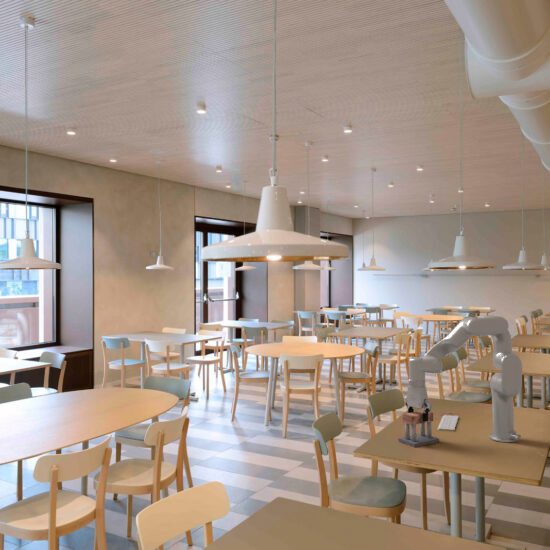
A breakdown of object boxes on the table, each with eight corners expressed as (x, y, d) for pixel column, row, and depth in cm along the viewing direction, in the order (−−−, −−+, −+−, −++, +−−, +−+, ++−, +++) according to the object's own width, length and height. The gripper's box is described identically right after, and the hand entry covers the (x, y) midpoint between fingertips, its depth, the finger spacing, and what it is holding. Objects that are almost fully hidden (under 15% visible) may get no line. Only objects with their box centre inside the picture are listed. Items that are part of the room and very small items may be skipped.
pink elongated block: (411, 425, 257) (411, 416, 257) (402, 422, 262) (402, 414, 262) (433, 421, 264) (433, 412, 264) (424, 418, 269) (424, 410, 269)
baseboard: (434, 430, 283) (454, 432, 280) (434, 425, 283) (454, 427, 280) (440, 417, 311) (458, 418, 307) (440, 412, 311) (458, 413, 308)
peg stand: (439, 441, 262) (438, 421, 262) (414, 447, 254) (413, 426, 254) (422, 436, 272) (422, 417, 272) (398, 441, 264) (397, 421, 264)
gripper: (399, 381, 269) (399, 416, 269) (424, 387, 254) (425, 424, 254) (410, 380, 273) (411, 414, 273) (436, 385, 258) (437, 421, 258)
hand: (418, 419), depth 263 cm, fingers open, 9 cm apart
